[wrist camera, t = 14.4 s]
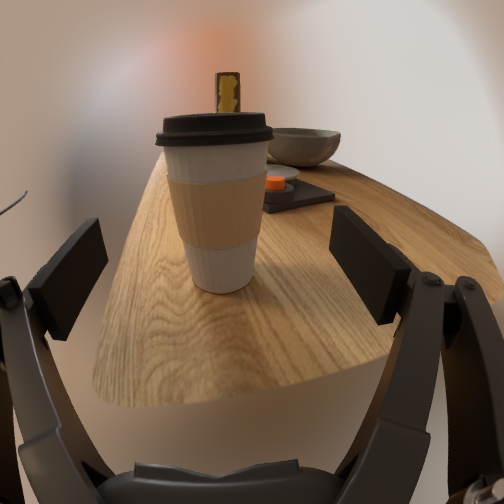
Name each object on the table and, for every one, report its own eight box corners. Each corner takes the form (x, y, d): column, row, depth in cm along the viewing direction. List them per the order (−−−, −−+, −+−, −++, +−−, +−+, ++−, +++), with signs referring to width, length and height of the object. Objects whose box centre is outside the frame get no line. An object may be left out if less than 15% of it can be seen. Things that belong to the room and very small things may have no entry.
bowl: (284, 156, 85) (285, 125, 80) (347, 166, 74) (349, 132, 69) (246, 166, 70) (246, 128, 65) (321, 179, 60) (324, 135, 55)
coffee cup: (281, 260, 30) (287, 113, 22) (250, 318, 22) (249, 115, 15) (201, 246, 33) (193, 113, 25) (154, 291, 25) (128, 123, 18)
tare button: (260, 187, 44) (260, 177, 43) (276, 185, 46) (277, 174, 45) (271, 193, 42) (272, 181, 41) (288, 190, 43) (289, 179, 42)
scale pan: (223, 170, 53) (223, 168, 53) (274, 164, 59) (274, 161, 58) (256, 185, 44) (256, 181, 44) (312, 177, 50) (313, 174, 49)
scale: (217, 185, 55) (216, 170, 53) (275, 176, 61) (275, 163, 60) (268, 214, 41) (269, 194, 40) (334, 200, 48) (336, 183, 46)
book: (244, 164, 72) (244, 72, 60) (212, 166, 71) (210, 72, 59) (238, 151, 91) (238, 80, 79) (213, 152, 90) (212, 80, 78)
